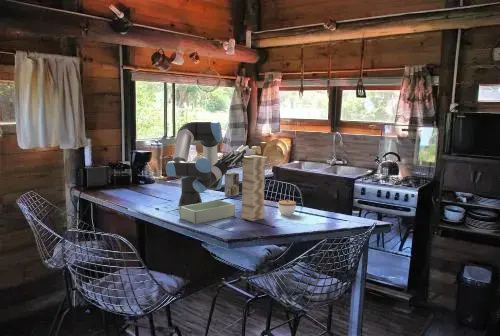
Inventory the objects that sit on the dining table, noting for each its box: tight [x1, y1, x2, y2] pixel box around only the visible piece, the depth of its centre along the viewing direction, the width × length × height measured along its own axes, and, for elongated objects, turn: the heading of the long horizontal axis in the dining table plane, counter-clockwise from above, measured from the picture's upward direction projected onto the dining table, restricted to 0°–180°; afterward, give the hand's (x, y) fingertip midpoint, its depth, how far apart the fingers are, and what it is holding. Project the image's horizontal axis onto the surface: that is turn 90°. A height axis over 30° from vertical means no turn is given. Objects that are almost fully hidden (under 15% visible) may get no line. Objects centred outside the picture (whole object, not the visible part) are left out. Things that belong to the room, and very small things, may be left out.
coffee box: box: [224, 172, 240, 197], centre depth 303 cm, size 9×6×16 cm
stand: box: [241, 154, 270, 222], centre depth 238 cm, size 12×12×36 cm
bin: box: [179, 199, 236, 225], centre depth 240 cm, size 29×15×7 cm, turn 133°
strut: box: [234, 145, 262, 156], centre depth 232 cm, size 18×5×4 cm, turn 133°
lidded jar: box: [277, 199, 297, 217], centre depth 250 cm, size 11×11×9 cm
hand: (246, 147), depth 230 cm, fingers closed on strut, 3 cm apart
